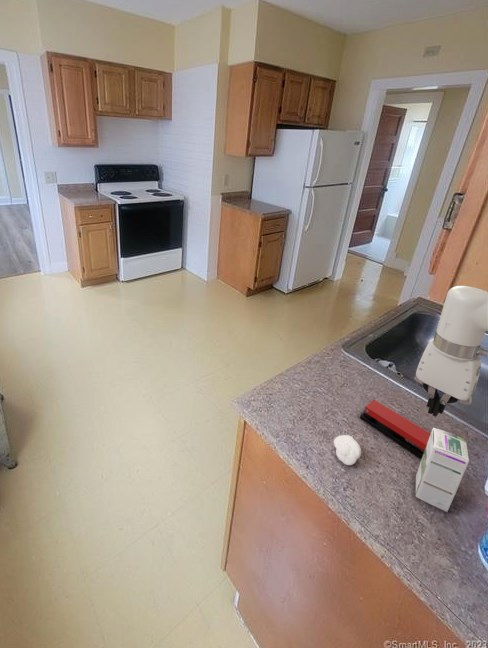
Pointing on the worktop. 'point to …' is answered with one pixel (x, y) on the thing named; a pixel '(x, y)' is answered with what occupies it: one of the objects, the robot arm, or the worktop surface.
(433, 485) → the syrup box
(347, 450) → the dumpling
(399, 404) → the worktop surface
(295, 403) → the worktop surface
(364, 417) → the stapler base
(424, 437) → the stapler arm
